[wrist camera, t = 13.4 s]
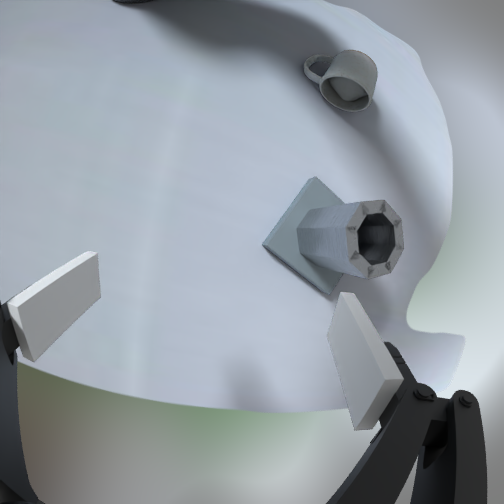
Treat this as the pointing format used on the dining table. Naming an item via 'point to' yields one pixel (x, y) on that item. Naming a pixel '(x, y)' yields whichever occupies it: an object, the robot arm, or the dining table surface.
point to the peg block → (286, 239)
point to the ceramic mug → (346, 79)
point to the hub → (352, 238)
